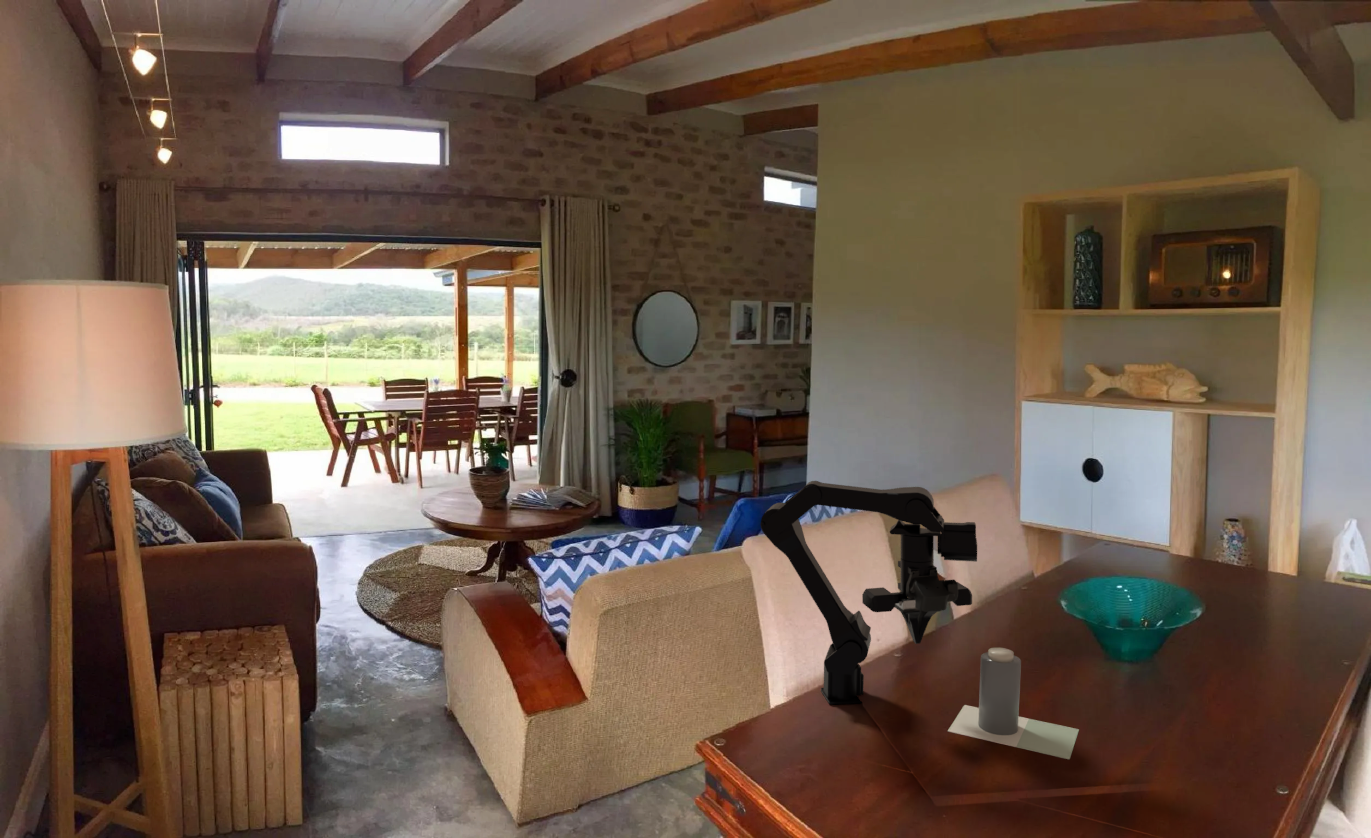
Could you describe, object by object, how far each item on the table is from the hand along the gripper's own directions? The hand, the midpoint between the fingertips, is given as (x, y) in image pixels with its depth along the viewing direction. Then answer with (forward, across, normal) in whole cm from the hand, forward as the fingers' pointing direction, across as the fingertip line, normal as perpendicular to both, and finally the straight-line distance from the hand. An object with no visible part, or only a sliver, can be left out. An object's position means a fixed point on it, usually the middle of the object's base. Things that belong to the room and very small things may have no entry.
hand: (916, 642), depth 159 cm
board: (+12, +11, -14) cm, 21 cm away
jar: (+11, +9, -12) cm, 19 cm away
